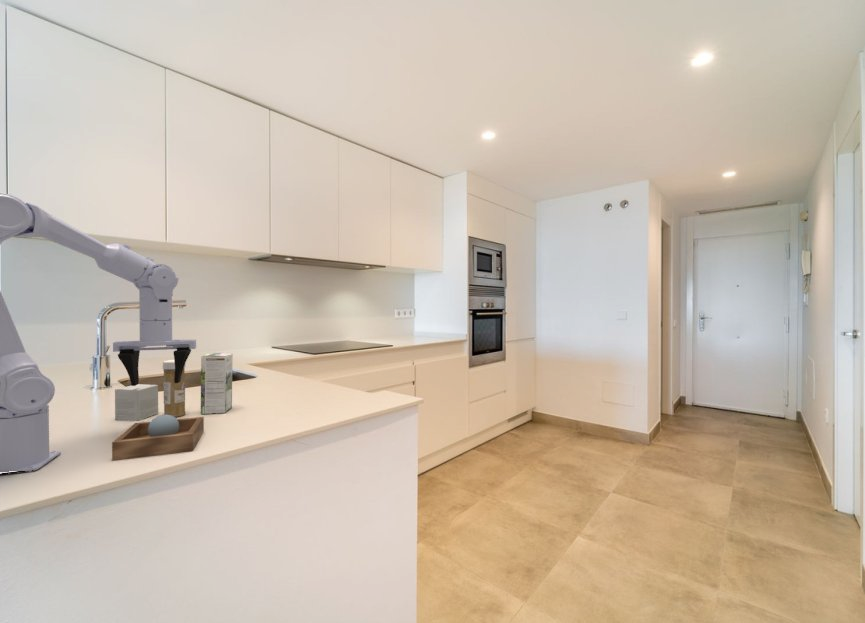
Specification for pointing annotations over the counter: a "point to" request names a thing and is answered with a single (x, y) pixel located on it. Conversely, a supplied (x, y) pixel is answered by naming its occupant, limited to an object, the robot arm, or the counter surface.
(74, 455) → the counter surface
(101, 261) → the robot arm
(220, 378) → the syrup box
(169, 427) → the ball
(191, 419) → the tray
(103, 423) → the counter surface
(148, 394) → the skincare box
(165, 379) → the sprinkles bottle
